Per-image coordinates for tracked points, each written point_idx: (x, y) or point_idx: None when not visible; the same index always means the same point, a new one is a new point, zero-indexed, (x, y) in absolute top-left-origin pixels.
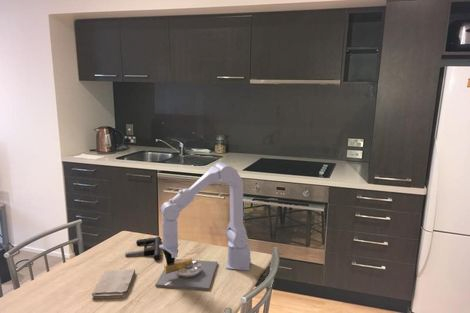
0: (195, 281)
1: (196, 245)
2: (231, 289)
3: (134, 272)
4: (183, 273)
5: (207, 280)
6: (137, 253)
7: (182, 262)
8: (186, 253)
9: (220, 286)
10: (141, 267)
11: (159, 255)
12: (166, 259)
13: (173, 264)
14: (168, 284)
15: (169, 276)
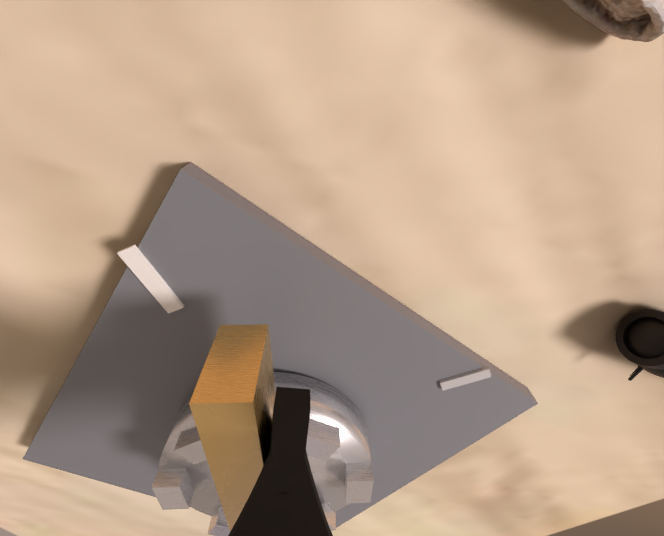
0: (129, 429)
1: (563, 516)
2: (33, 504)
3: (624, 25)
4: (179, 431)
5: (122, 473)
6: None
7: (229, 522)
8: (531, 469)
9: (75, 484)
10: (654, 158)
11: (648, 367)
12: (248, 503)
13: (214, 469)
14: (135, 277)
15: (275, 323)
